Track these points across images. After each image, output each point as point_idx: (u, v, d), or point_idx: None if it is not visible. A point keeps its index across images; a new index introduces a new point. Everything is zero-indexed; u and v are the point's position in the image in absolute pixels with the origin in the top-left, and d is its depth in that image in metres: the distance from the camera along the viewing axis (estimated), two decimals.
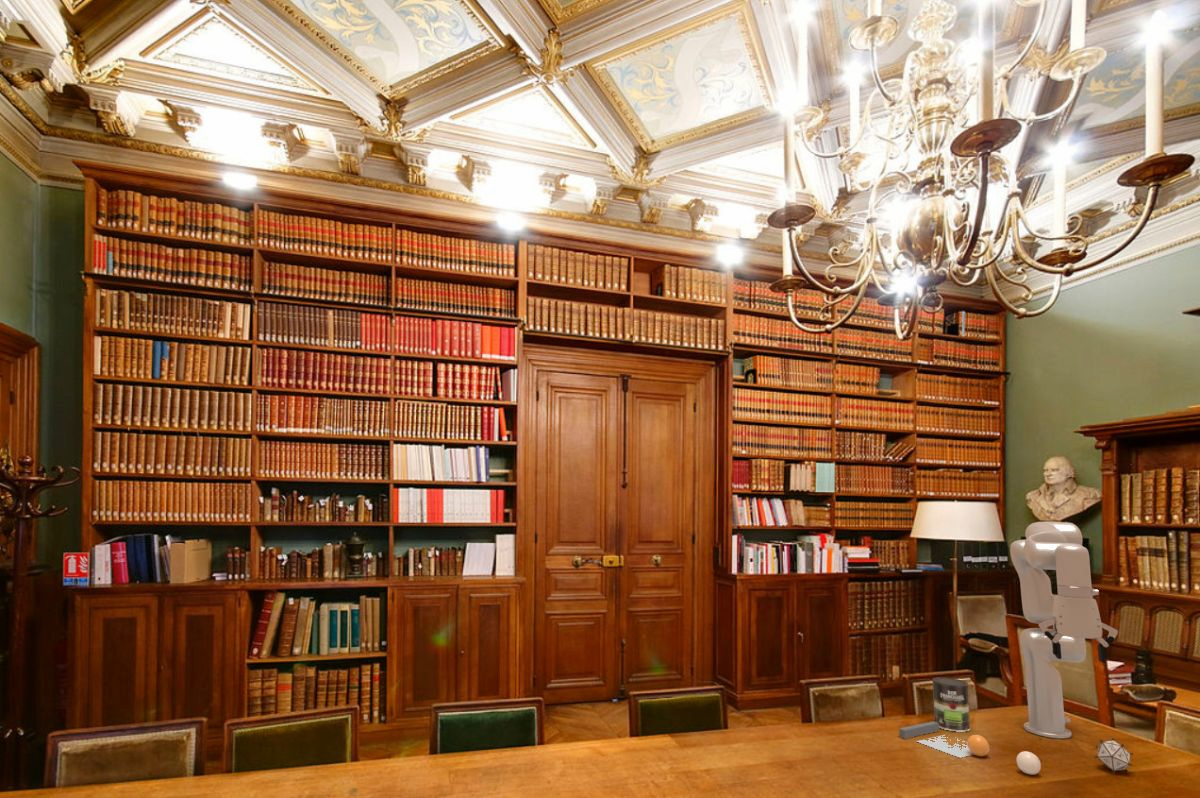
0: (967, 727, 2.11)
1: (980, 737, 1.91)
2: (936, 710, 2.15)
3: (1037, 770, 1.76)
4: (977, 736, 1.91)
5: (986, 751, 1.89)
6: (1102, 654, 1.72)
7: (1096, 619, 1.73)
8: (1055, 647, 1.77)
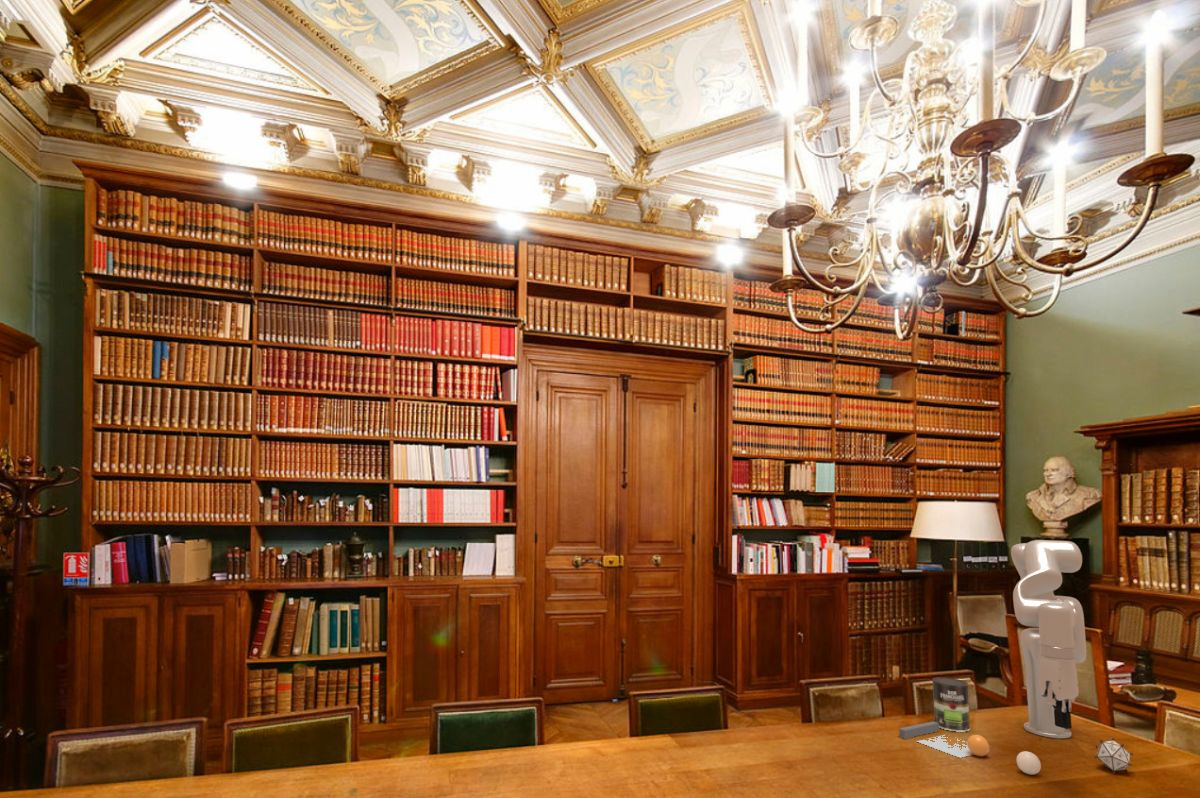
0: (967, 727, 2.11)
1: (980, 737, 1.91)
2: (936, 710, 2.15)
3: (1037, 770, 1.76)
4: (977, 736, 1.91)
5: (986, 751, 1.89)
6: (1069, 719, 1.71)
7: (1076, 678, 1.74)
8: (1063, 717, 1.71)
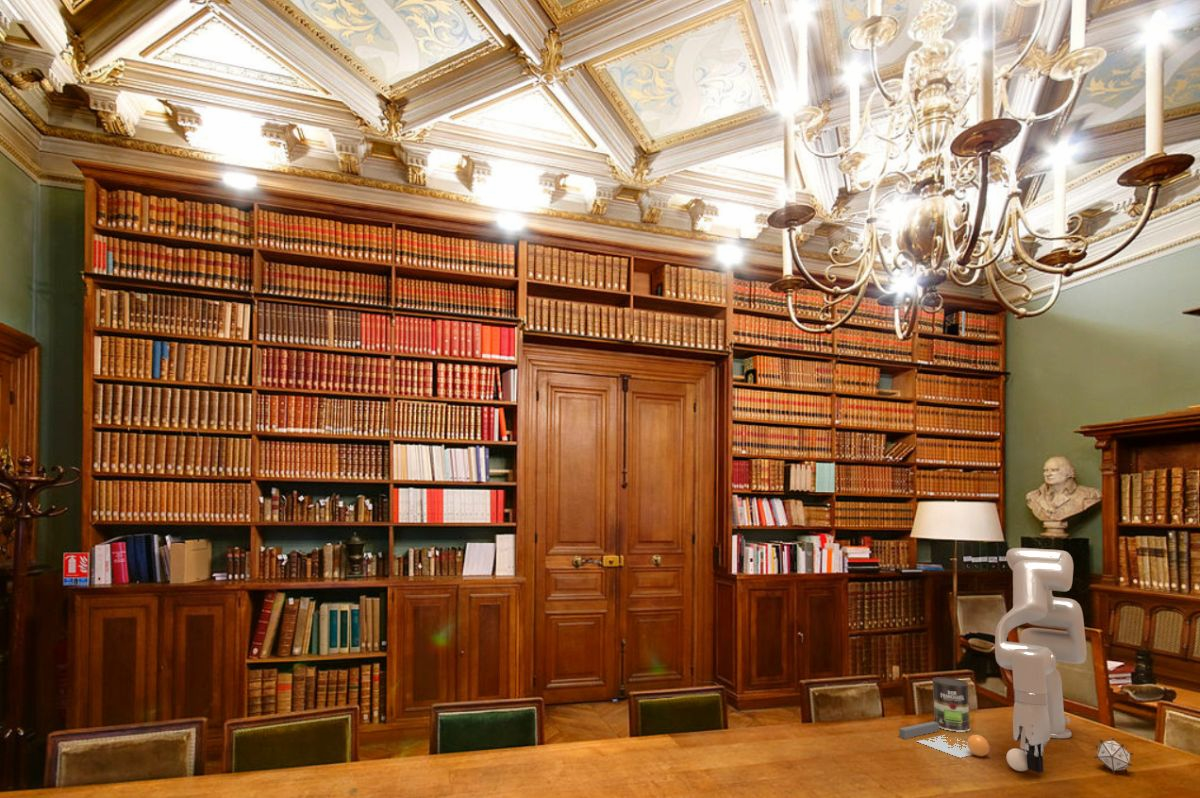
0: (967, 727, 2.11)
1: (980, 737, 1.91)
2: (936, 710, 2.15)
3: None
4: (977, 736, 1.91)
5: (986, 751, 1.89)
6: (1041, 763, 1.76)
7: (1048, 722, 1.79)
8: (1035, 761, 1.76)
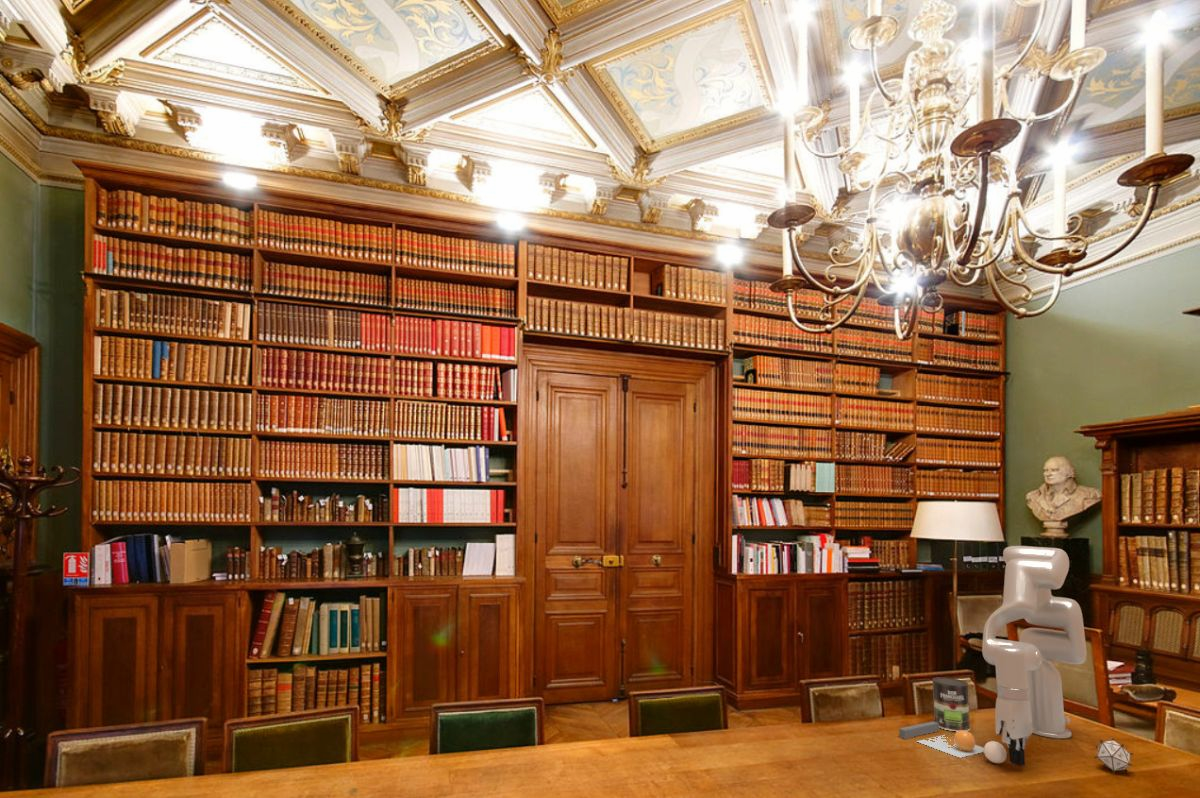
0: (967, 727, 2.11)
1: None
2: (936, 710, 2.15)
3: (986, 743, 1.88)
4: None
5: (966, 732, 1.94)
6: (1023, 757, 1.81)
7: (1030, 717, 1.83)
8: (1017, 754, 1.81)
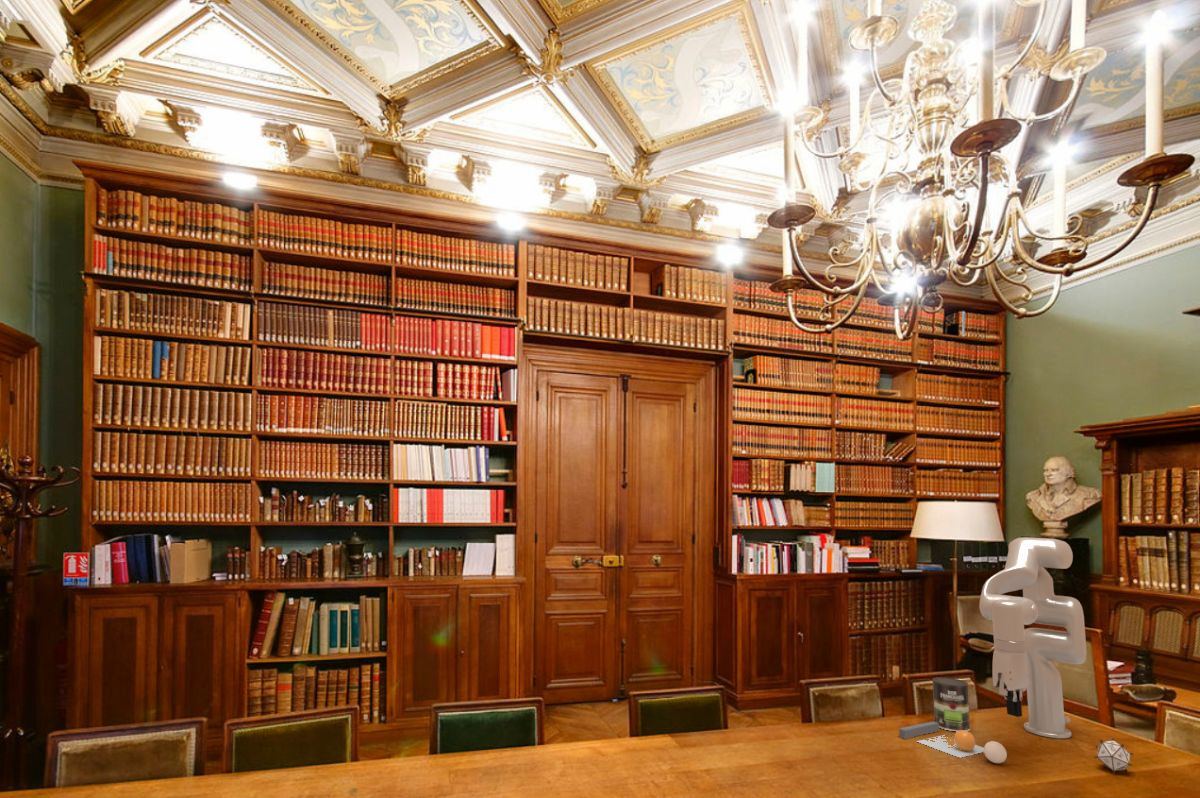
0: (967, 727, 2.11)
1: None
2: (936, 710, 2.15)
3: (986, 743, 1.88)
4: None
5: (966, 732, 1.94)
6: (1020, 708, 1.83)
7: (1027, 669, 1.85)
8: (1014, 706, 1.83)
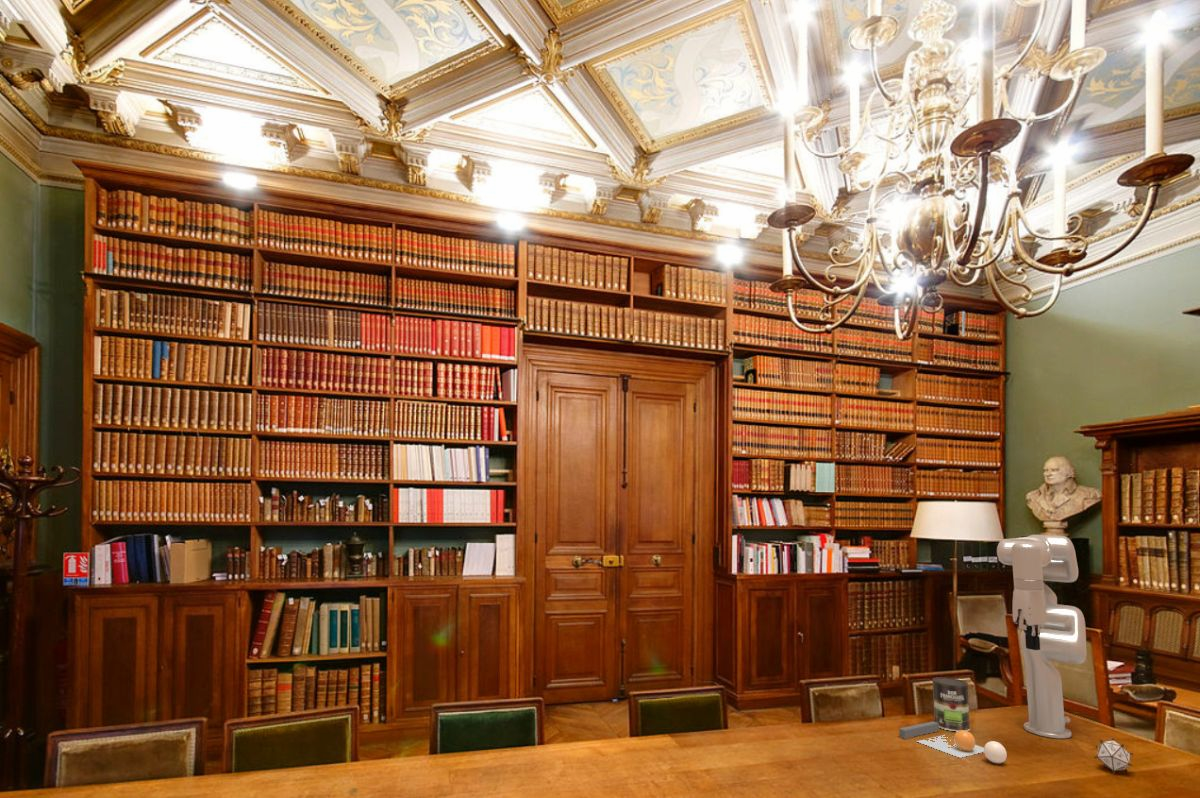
0: (967, 727, 2.11)
1: None
2: (936, 710, 2.15)
3: (986, 743, 1.88)
4: None
5: (966, 732, 1.94)
6: (1038, 642, 1.96)
7: (1045, 607, 1.99)
8: (1033, 640, 1.96)
